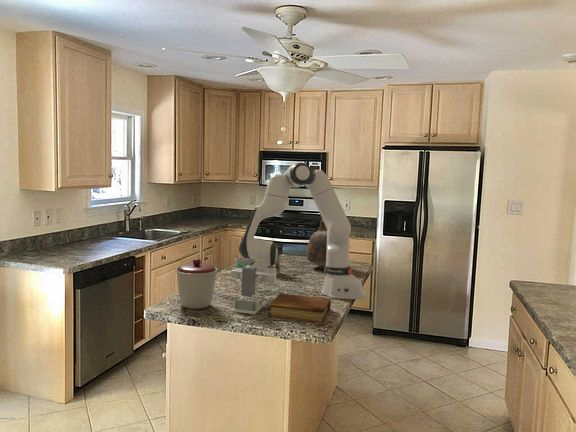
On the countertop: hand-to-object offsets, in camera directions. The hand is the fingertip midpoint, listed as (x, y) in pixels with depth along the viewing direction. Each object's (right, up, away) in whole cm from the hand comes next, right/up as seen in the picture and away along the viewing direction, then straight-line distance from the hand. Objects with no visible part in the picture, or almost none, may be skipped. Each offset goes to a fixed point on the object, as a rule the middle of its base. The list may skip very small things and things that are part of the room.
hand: (248, 279), depth 202 cm
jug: (+39, -5, +89) cm, 97 cm away
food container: (-8, -7, +62) cm, 63 cm away
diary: (+22, -15, 0) cm, 27 cm away
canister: (-23, -12, +4) cm, 27 cm away
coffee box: (+7, -6, +70) cm, 71 cm away
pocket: (0, -13, +2) cm, 13 cm away
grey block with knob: (0, -7, +2) cm, 7 cm away
